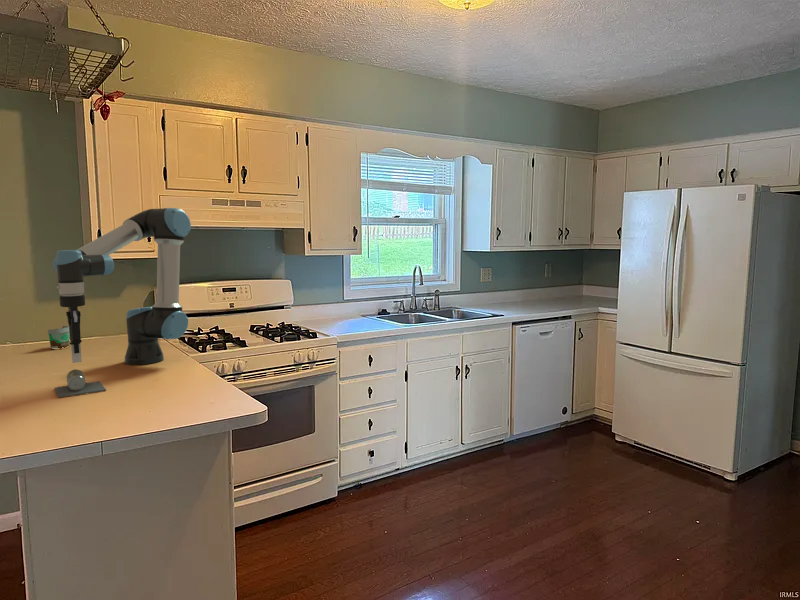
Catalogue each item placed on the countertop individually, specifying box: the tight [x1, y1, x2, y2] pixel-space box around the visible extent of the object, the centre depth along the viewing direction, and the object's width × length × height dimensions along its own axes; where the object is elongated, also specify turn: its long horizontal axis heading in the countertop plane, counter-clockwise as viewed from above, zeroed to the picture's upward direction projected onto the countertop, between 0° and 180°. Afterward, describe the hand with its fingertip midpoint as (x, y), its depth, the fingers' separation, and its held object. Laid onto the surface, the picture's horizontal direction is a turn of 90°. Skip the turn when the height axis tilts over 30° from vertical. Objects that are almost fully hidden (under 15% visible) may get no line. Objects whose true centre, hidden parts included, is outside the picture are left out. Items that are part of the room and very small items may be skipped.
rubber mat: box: [54, 380, 107, 398], centre depth 193 cm, size 14×14×1 cm
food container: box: [47, 325, 70, 349], centre depth 269 cm, size 12×6×10 cm, turn 179°
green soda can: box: [66, 368, 87, 391], centre depth 194 cm, size 5×5×12 cm
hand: (77, 361), depth 195 cm, fingers closed
